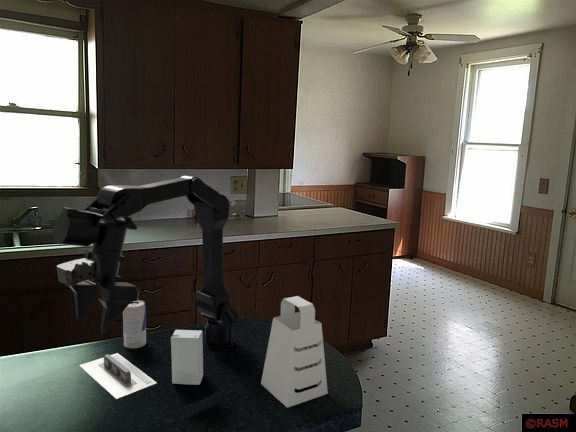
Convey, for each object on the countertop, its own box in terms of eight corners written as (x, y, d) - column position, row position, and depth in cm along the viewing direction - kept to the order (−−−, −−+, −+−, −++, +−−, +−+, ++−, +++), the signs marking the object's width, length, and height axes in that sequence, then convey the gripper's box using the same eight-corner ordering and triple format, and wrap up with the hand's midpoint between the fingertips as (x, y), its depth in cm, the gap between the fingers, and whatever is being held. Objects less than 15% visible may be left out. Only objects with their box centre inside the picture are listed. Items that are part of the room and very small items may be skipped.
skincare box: (203, 380, 103) (204, 329, 101) (199, 391, 98) (200, 338, 96) (175, 379, 103) (175, 328, 101) (170, 390, 98) (170, 336, 96)
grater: (299, 372, 108) (303, 290, 105) (327, 393, 100) (333, 305, 96) (260, 383, 102) (263, 297, 99) (287, 407, 94) (291, 314, 90)
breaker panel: (117, 358, 111) (117, 352, 110) (157, 389, 99) (157, 382, 98) (79, 371, 104) (79, 364, 104) (116, 405, 92) (116, 398, 92)
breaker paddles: (109, 363, 105) (108, 353, 105) (130, 381, 98) (130, 370, 98) (103, 365, 104) (103, 355, 104) (125, 383, 97) (125, 372, 97)
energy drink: (148, 344, 119) (148, 299, 117) (142, 354, 114) (142, 307, 111) (127, 343, 119) (126, 299, 117) (120, 353, 113) (119, 307, 111)
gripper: (45, 236, 92) (28, 314, 91) (94, 254, 80) (75, 343, 80) (97, 241, 101) (82, 312, 100) (148, 258, 89) (131, 338, 89)
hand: (91, 325), depth 92 cm, fingers open, 9 cm apart
